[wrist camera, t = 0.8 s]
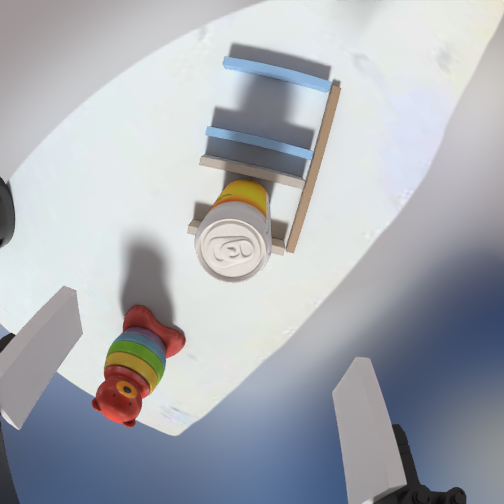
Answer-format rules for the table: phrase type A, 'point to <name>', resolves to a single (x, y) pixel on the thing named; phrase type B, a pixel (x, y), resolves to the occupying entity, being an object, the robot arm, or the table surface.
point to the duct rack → (277, 145)
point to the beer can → (236, 233)
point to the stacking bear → (135, 365)
